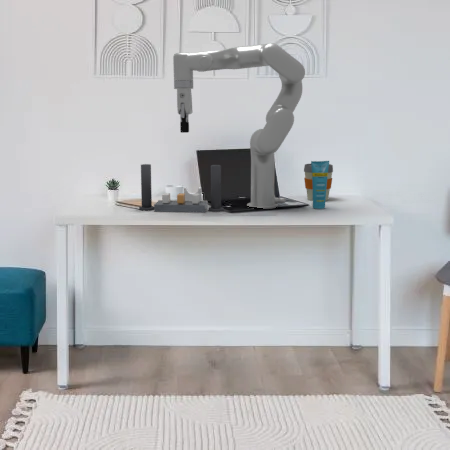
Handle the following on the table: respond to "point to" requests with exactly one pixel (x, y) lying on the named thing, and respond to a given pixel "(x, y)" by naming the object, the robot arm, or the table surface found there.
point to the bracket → (189, 195)
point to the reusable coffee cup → (309, 181)
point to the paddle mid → (181, 198)
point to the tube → (319, 183)
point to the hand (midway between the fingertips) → (184, 132)
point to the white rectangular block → (166, 198)
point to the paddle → (196, 198)
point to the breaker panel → (180, 206)
